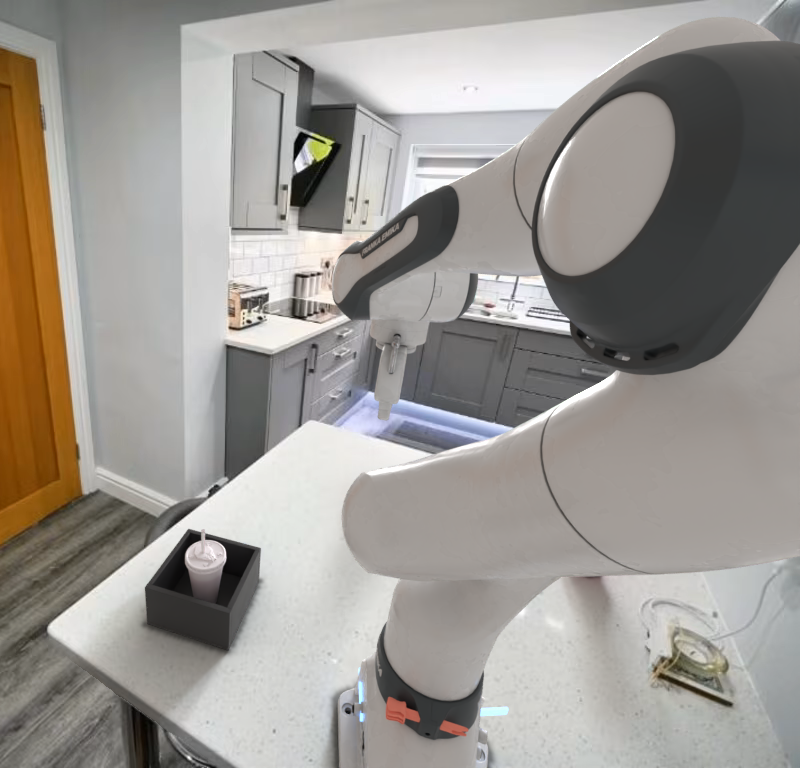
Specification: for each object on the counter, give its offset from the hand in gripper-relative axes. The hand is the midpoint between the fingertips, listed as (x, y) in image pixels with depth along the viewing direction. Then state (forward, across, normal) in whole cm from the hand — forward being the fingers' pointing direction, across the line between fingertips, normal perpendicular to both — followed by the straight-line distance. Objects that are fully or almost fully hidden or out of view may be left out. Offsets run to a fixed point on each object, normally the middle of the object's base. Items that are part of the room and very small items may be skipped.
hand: (385, 406), depth 74 cm
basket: (+31, -21, +23) cm, 44 cm away
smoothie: (+31, -21, +23) cm, 44 cm away
